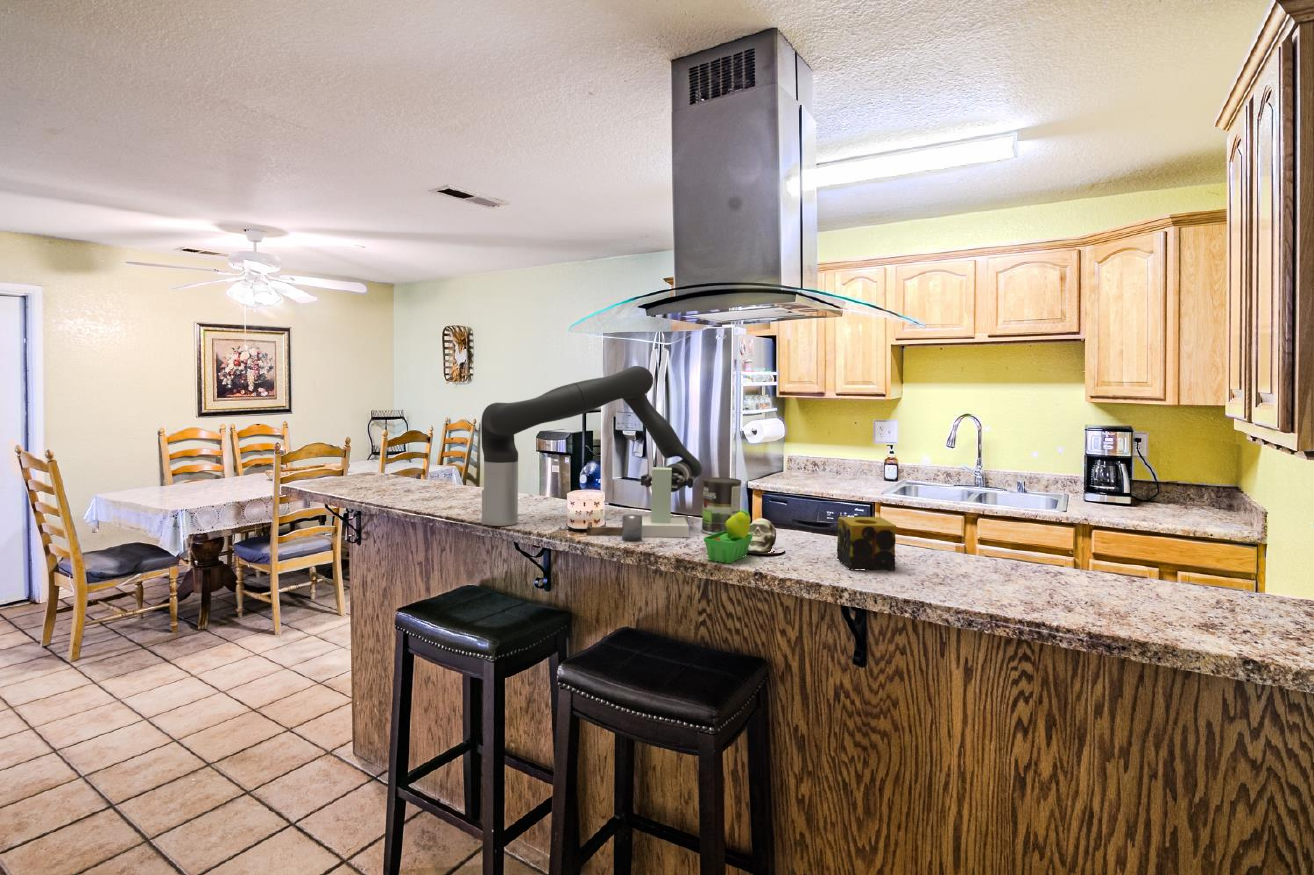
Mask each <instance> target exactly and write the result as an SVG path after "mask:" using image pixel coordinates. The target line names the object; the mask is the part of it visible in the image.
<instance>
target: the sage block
mask: <svg viewBox="0 0 1314 875" xmlns="http://www.w3.org/2000/svg"><path fill="white" fill-rule="evenodd" d="M651 476H652V481H651V483H652V486H651V499H650V500H651V502H650V503H651V505H650V506H651V508H650V509H651V510H650V514H651V515H650V517H651V523H670V520H671V517H672V515H671V514H672V512H671V511H672V492H671V478H672V468H664V467H662V466H661V467H658V466H656V467H654V466H653V467H652V469H651Z"/></svg>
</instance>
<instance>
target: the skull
mask: <svg viewBox="0 0 1314 875" xmlns="http://www.w3.org/2000/svg"><path fill="white" fill-rule="evenodd" d="M748 534H752V535H753V537H752V539H751V541H750V545H749V548H748V551H747V553H751V554H757V555H776V554H777V555H778V554H779V553H774V552H775V551H773V552H771V553H768V552H770V551H771V549H772V548H773V547H774V545H775V544H776V539H777V529H776V527H775V526H774V524H773V523H772V522H771V521H770V520H768V519H766V518H763V517H762V518H761V517H759V518H755V519H754V520H753V521H751V522H750V530H749V533H748ZM779 555H780V554H779Z"/></svg>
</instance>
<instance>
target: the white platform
mask: <svg viewBox="0 0 1314 875" xmlns="http://www.w3.org/2000/svg"><path fill="white" fill-rule="evenodd" d="M689 528H690V526H689V524H688V522H687V519H686V518H685V517H676V516H675V517H672V516H671V520H670V523H651V516H642V538H683V537H688V538H689Z"/></svg>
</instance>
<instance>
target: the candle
mask: <svg viewBox="0 0 1314 875" xmlns="http://www.w3.org/2000/svg"><path fill="white" fill-rule="evenodd" d="M837 529H838V531H837V542H836V543H837V544H836V553H837V557H836V560H837V559H839V560H840V561H841V562H842V563H843V564H844V565H845V566H847V567H848V568H849V569H865V570H893V571H895V570H896V565H895V564H896V556H897V555H896V550H895V549H896V540H897V539H896V532H897V531H896V529H897V525H896V524H895V523H892V522H891V521H889V520H887V519H885V518H883V517H880V516H840V517H837ZM841 562H840V563H841ZM843 564H842V565H843ZM844 565H843V566H844ZM845 566H844V567H845ZM847 567H846V568H847ZM848 568H847V569H848ZM849 569H848V570H849Z"/></svg>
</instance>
